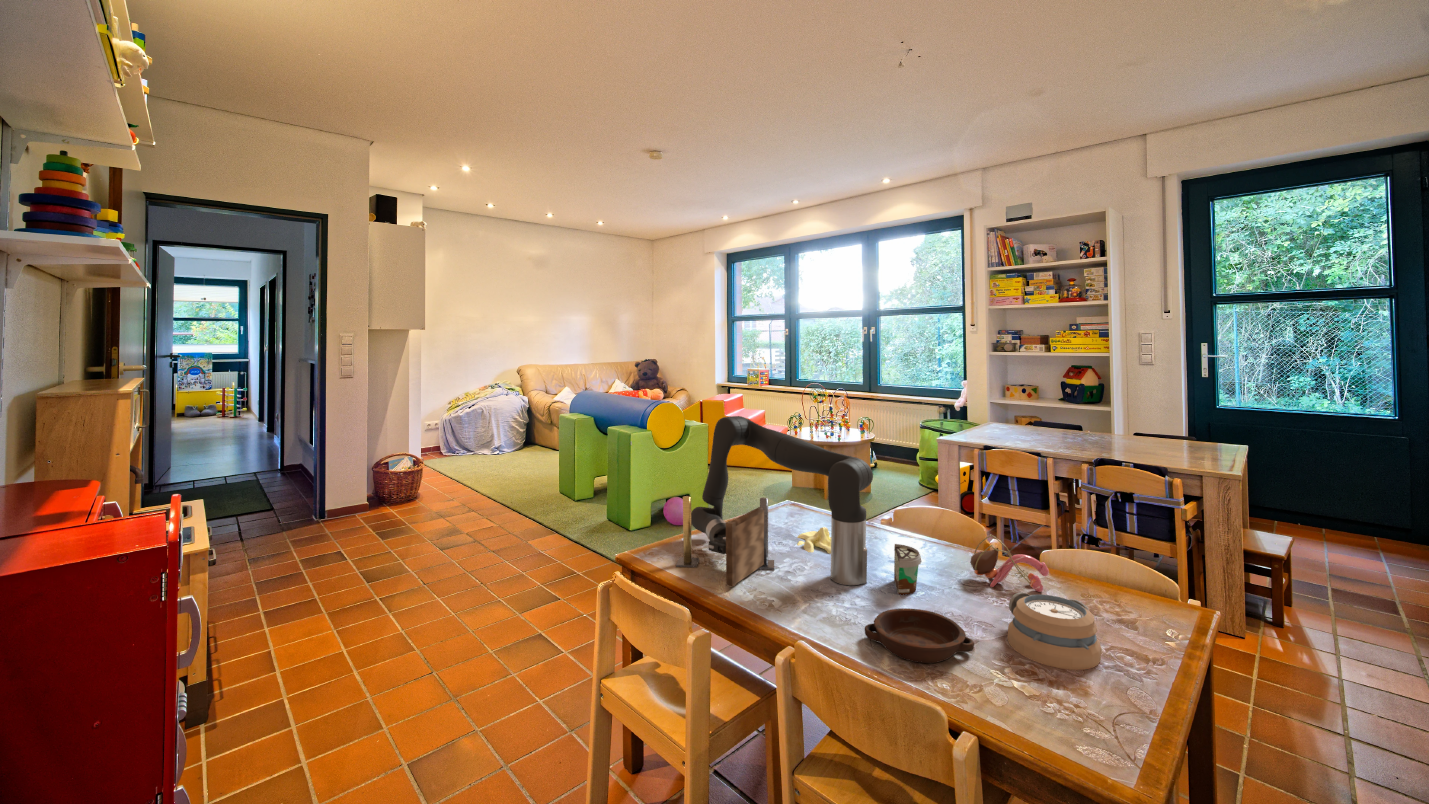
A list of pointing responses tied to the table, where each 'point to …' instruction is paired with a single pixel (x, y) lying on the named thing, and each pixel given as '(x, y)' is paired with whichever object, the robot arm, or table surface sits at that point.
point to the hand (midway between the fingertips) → (738, 554)
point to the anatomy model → (1006, 566)
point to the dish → (918, 635)
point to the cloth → (816, 540)
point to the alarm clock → (1054, 631)
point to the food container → (906, 569)
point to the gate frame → (687, 543)
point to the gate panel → (744, 545)
